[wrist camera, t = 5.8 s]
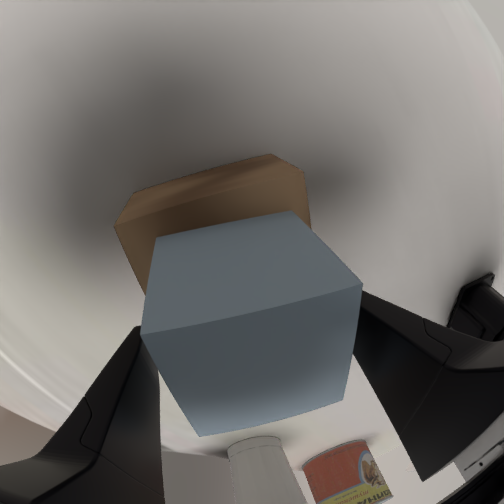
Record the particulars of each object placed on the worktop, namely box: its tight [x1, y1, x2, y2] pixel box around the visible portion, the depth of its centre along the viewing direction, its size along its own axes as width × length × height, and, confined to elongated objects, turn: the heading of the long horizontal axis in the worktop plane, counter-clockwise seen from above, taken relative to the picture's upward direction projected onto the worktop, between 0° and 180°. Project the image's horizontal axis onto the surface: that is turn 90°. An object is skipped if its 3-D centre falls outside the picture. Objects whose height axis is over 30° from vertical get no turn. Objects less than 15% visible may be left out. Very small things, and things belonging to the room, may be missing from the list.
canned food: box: [302, 440, 393, 504], centre depth 32 cm, size 11×11×12 cm
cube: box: [140, 210, 363, 437], centre depth 9 cm, size 5×5×5 cm
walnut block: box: [114, 154, 311, 296], centre depth 13 cm, size 7×7×4 cm
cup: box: [227, 436, 308, 504], centre depth 23 cm, size 8×8×12 cm
